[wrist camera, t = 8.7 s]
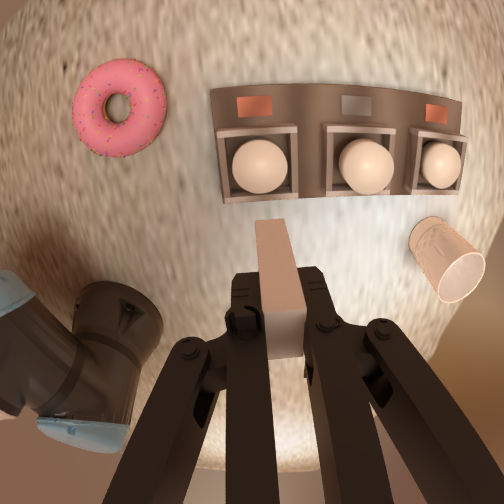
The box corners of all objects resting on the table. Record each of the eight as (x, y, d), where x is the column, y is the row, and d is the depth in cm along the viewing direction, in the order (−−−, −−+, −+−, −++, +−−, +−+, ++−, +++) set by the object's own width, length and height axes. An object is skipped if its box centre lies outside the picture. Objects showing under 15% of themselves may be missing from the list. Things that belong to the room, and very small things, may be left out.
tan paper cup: (404, 219, 36) (441, 263, 28) (449, 207, 35) (490, 245, 27) (404, 264, 40) (433, 310, 32) (446, 251, 39) (479, 292, 31)
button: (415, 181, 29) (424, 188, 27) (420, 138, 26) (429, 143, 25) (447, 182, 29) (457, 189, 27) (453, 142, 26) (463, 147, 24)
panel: (224, 193, 34) (222, 212, 29) (213, 89, 27) (207, 91, 23) (438, 185, 33) (458, 201, 29) (447, 98, 26) (472, 105, 22)
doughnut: (81, 67, 24) (62, 68, 21) (173, 54, 25) (162, 51, 21) (86, 154, 30) (69, 165, 27) (172, 150, 31) (163, 160, 27)
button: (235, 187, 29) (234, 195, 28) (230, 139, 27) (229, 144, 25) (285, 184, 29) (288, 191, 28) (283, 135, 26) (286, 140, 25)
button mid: (337, 187, 28) (343, 195, 26) (339, 138, 25) (346, 143, 23) (382, 186, 28) (390, 194, 26) (386, 139, 25) (396, 144, 23)
